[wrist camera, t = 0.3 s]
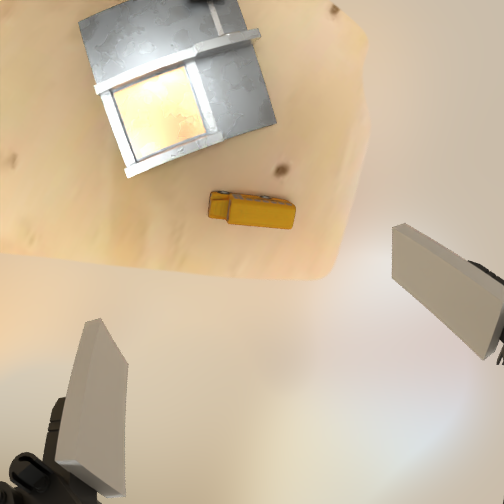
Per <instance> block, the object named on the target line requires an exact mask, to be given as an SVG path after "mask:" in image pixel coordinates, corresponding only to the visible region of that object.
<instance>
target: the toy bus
mask: <svg viewBox="0 0 504 504" xmlns="http://www.w3.org/2000/svg"><path fill="white" fill-rule="evenodd" d="M295 212H296V207H295V205H294V204H292V203H291V202H289V201H287V200H282V199H277V198H270V197H268V196H260V197H258V196H253V195H244V194H235V193H228V192H225V191H219V192H211V194H210V200H209V208H208V216H209V217H210V218H216V219H225V220H226V221H227V223H228V224H235V225H246V226H258V227H269V228H280V229H291V228H292V227H293V222H294V218H295Z"/></svg>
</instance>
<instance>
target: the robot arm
mask: <svg viewBox="0 0 504 504" xmlns="http://www.w3.org/2000/svg"><path fill="white" fill-rule="evenodd" d="M392 278H393V279H394V280H395V281H396V282H397V283H398V284H399V285H401V286H402V287H403V288H404V289H405V290H406V291H408V292H409V293H410V294H411V295H412V296H413V297H414V298H416V299H417V300H418V301H419V302H420V303H421V304H423V305H424V306H425V307H426V308H427V309H428V310H429V311H431V312H432V313H433V314H434V315H435V316H436V317H437V318H438V319H439V320H440V321H442V322H443V323H444V324H445V325H446V326H447V327H448V328H449V329H450V330H451V331H452V332H453V333H455V334H456V335H457V336H458V337H459V338H460V339H461V340H462V341H463V342H464V343H465V344H466V345H467V346H468V347H469V348H470V349H472V350H473V351H474V352H475V353H476V354H477V355H478V356H479V357H480V358H481V359H482V360H485V359H486V358H487V357H488V356H490V355H491V354H492V353H494V352H495V350H496V347H497V345H498V342H499V340H501V341H502V342H503V343H504V280H503V279H501V278H500V277H498V276H496V275H495V274H494V273H492V272H491V271H490V272H489V270H488V269H486V268H485V267H483V266H482V265H480V264H478V263H475V262H472V261H469V260H468V261H466V260H465V259H463V258H462V257H460V256H458V255H457V254H455V253H454V252H452V251H451V250H449V249H448V248H446V247H444V246H443V245H441V244H439V243H438V242H436V241H434V240H433V239H431V238H430V237H428V236H426V235H424V234H422V233H421V232H419V231H417V230H416V229H414V228H413V227H411V226H409V225H407V224H406V223H404V224H401V225H398V226H395V227H392ZM502 357H503V363H502V365H504V345H503V347H502V350H501V352H500V354H499V357H498V359H497V365H499V363H500V361H501V358H502ZM127 375H128V363H127V361H126V360H125V358H124V356H123V355H122V354H121V352H120V350H119V348H118V347H117V345H116V343H115V342H114V340H113V339H112V337H111V335H110V333H109V332H108V330H107V328H106V326H105V325H104V323H103V321H102V319H101V318H99V319H95V320H92V321H88V322H86V323H85V326H84V329H83V333H82V336H81V340H80V343H79V347H78V350H77V354H76V357H75V362H74V365H73V370H72V373H71V377H70V381H69V386H68V390H67V394H66V397H63V398H59V399H58V401H57V402H56V404H55V406H54V408H53V409H52V413H51V418H50V422H51V423H49V427H48V431H49V432H48V433H47V438H46V443H45V449H44V454H43V461H41V460H40V459H38V458H37V457H36V456H35V455H34V454H32V453H29V452H25V453H21V454H20V455H18V456H16V457H15V459H14V460H13V461H12V463H11V465H10V468H9V477H10V481H12V482H13V483H14V484H16V485H17V486H18V487H15V488H13V487H11V486H10V485H8V484H7V483H6V482H2V481H0V504H102V503H100V502H99V501H98V500H97V492H98V493H100V494H101V495H103V496H104V497H106V498H114V497H126V489H125V411H126V391H127ZM503 504H504V501H503Z"/></svg>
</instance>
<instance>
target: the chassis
mask: <svg viewBox="0 0 504 504" xmlns="http://www.w3.org/2000/svg"><path fill="white" fill-rule="evenodd" d="M78 24H79V28H80V31H81V35H82V38H83V42H84V45H85V49H86V52H87V55H88V59H89V62H90V65H91V68H92V72H93V75H94V78H95V81H96V84H97V85H95V86H94V88H95V91H96V94H97V95H100V96H101V99H102V102H103V105H104V108H105V111H106V114H107V116H108V119H109V122H110V125H111V127H112V130H113V133H114V136H115V138H116V141H117V144H118V146H119V149H120V151H121V154H122V157H123V159H124V162H125V164H126V168H125V169H124V170H125V173H126V175H127V178H129V177H132V176H134V175H136V174H139V173H141V172H143V171H146V170H148V169H150V168H153V167H155V166H158V165H160V164H163V163H165V162H168V161H170V160H173V159H175V158H178V157H181V156H183V155H186V154H188V153H191V152H194V151H197V150H199V149H202V148H205V147H208V146H210V145H213V144H216V143H219V142H222V141H224V140H225V139H228V138H231V137H234V136H237V135H240V134H243V133H246V132H249V131H253V130H256V129H259V128H262V127H266V126H269V125H272V124H276V123H277V122H276V119H275V115H274V112H273V108H272V105H271V102H270V98H269V95H268V92H267V89H266V85H265V82H264V79H263V76H262V73H261V70H260V66H259V63H258V60H257V57H256V54H255V51H254V48H253V45H252V44H253V43H254V42H256V41H257V40H258V39H259V38H260V37H261V35H260V32H259V29H258V28H257V29H252V30H247V27H246V24H245V22H244V19H243V16H242V13H241V10H240V7H239V5H238V2H237V0H200V1H193V0H129V1H126V2H124V3H121V4H118V5H116V6H114V7H111V8H109V9H106V10H104V11H102V12H99V13H97V14H95V15H93V16H90V17H88V18H86V19H84V20H82V21H80V22H78Z"/></svg>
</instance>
